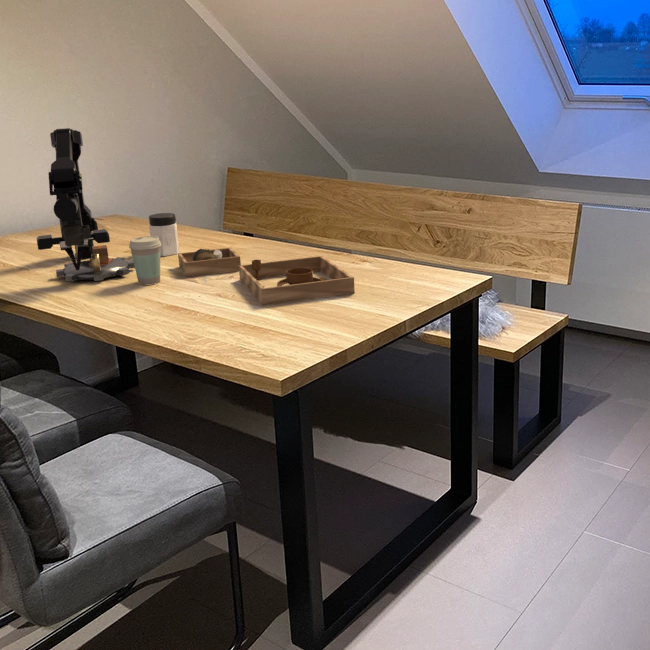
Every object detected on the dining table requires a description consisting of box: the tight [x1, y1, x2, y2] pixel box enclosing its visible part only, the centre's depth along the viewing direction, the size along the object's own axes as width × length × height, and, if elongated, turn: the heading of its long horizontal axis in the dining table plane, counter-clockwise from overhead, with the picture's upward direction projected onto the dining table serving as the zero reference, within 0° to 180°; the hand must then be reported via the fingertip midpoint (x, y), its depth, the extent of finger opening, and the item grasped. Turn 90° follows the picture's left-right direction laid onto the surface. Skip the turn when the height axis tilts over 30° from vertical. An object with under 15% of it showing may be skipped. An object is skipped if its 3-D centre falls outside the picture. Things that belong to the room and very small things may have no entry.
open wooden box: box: [177, 247, 242, 278], centre depth 228 cm, size 13×16×4 cm
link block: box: [92, 244, 110, 262], centre depth 232 cm, size 4×4×4 cm
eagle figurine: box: [192, 248, 222, 261], centre depth 227 cm, size 8×7×9 cm
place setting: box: [251, 259, 328, 288], centre depth 210 cm, size 18×20×6 cm
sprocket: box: [55, 254, 135, 282], centre depth 227 cm, size 22×22×6 cm
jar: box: [148, 212, 180, 257], centre depth 248 cm, size 9×8×12 cm
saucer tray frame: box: [238, 255, 356, 306], centre depth 207 cm, size 26×24×4 cm
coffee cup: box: [128, 235, 161, 286], centre depth 216 cm, size 8×8×12 cm
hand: (77, 269), depth 219 cm, fingers closed
